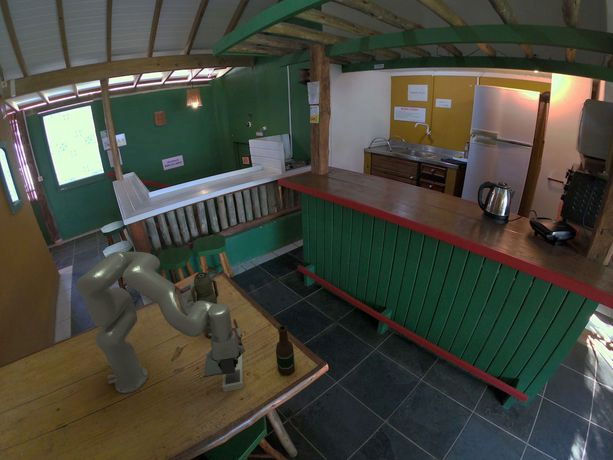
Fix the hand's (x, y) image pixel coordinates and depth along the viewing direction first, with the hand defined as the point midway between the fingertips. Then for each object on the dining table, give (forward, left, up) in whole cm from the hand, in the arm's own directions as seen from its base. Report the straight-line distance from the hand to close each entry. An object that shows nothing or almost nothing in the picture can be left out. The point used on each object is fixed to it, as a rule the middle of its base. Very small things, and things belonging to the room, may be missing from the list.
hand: (228, 365), depth 128 cm
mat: (-8, +11, -10) cm, 17 cm away
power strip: (+1, +6, -10) cm, 11 cm away
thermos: (-9, +31, -10) cm, 34 cm away
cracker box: (-20, +50, -10) cm, 55 cm away
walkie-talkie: (0, +26, -11) cm, 28 cm away
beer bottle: (+23, +1, -10) cm, 25 cm away
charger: (0, 0, -2) cm, 2 cm away
